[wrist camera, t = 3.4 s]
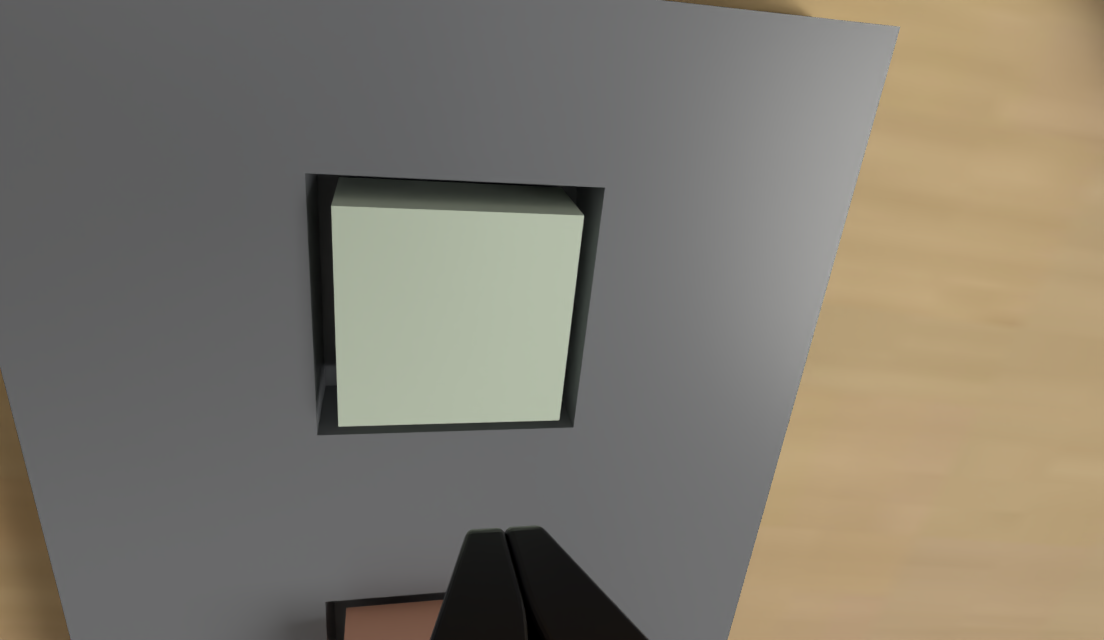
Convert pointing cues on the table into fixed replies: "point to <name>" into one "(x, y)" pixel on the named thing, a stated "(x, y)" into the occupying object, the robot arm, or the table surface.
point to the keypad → (308, 292)
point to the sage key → (451, 300)
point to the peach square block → (392, 621)
